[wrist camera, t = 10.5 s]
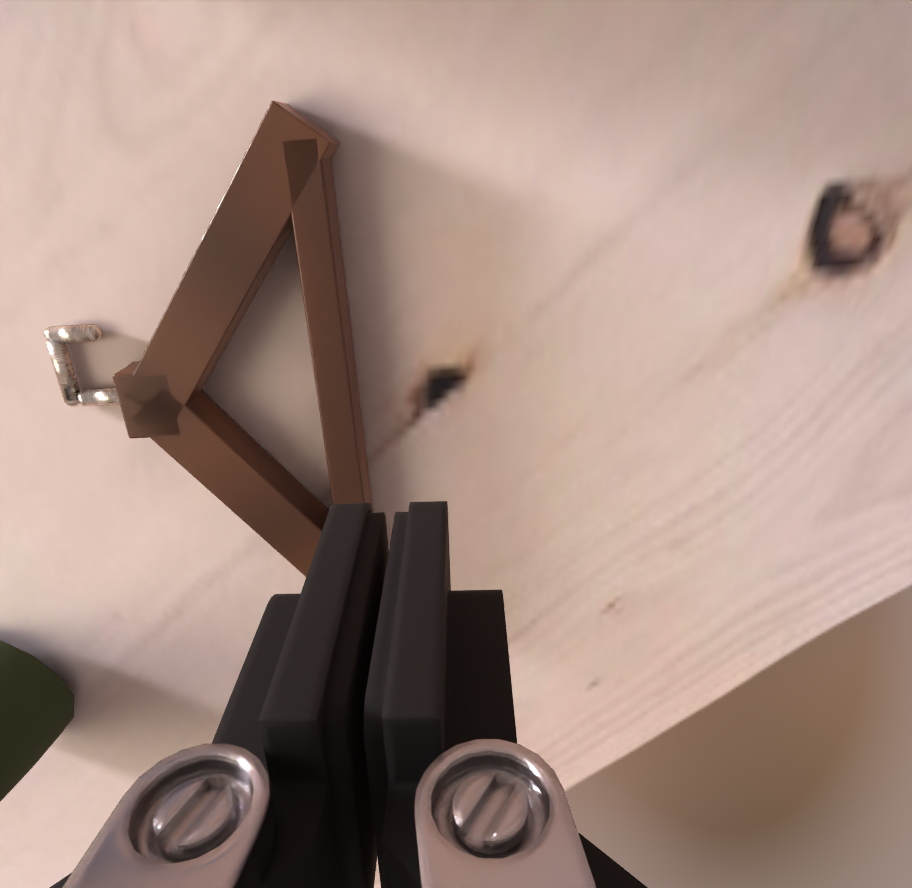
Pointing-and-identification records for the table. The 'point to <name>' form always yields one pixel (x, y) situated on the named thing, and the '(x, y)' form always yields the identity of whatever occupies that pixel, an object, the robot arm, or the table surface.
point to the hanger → (213, 323)
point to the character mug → (28, 713)
